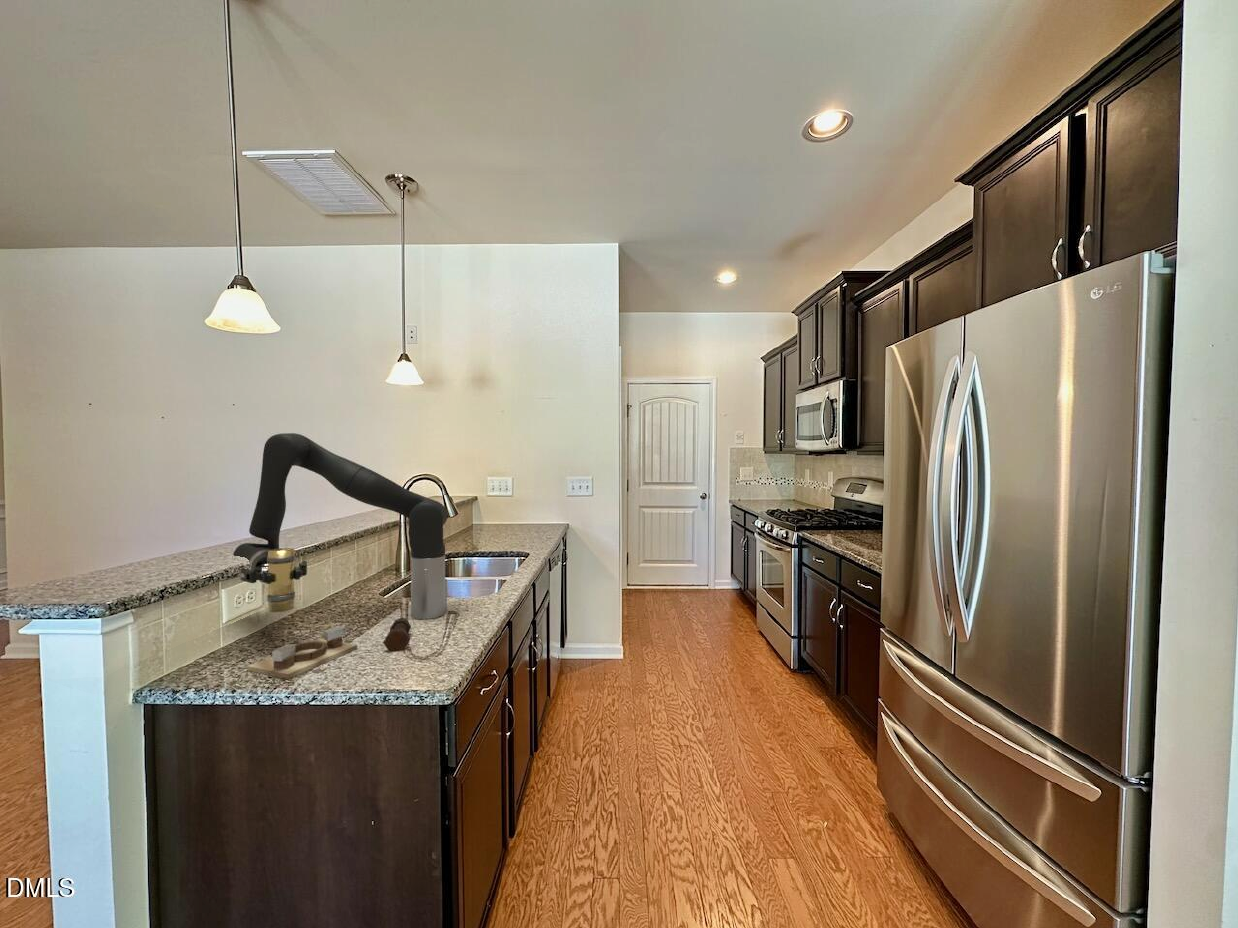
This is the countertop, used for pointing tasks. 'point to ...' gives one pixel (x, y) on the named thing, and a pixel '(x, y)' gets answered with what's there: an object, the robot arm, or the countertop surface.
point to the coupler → (281, 579)
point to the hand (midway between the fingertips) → (283, 577)
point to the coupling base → (300, 665)
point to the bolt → (398, 635)
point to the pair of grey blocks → (289, 649)
